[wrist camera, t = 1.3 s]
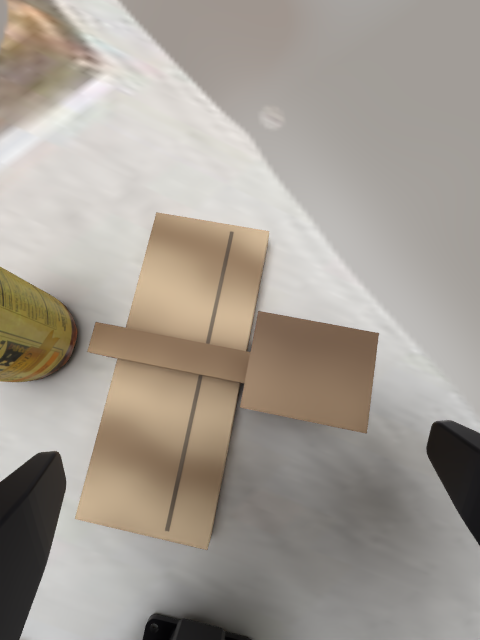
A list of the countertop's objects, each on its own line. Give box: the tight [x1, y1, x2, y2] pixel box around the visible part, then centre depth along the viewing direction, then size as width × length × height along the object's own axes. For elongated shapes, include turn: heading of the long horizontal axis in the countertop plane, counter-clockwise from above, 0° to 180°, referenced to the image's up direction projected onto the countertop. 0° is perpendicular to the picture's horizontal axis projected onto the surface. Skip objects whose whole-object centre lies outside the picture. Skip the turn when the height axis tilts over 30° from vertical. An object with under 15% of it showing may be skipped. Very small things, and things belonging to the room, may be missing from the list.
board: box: [75, 212, 269, 550], centre depth 23 cm, size 20×8×2 cm, turn 169°
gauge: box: [87, 311, 379, 433], centre depth 19 cm, size 4×15×10 cm, turn 79°
